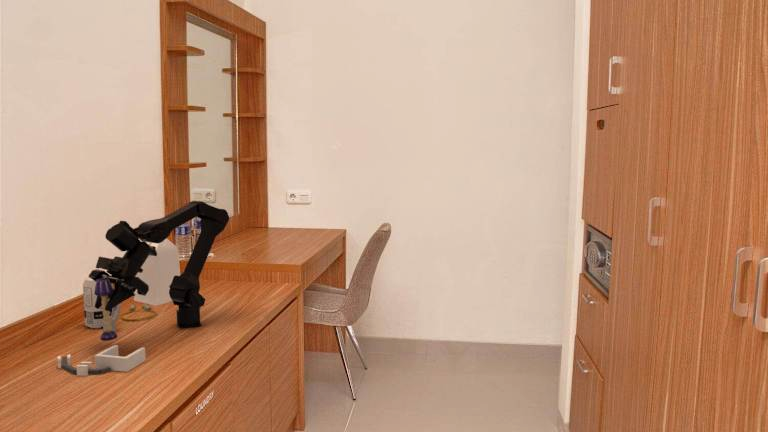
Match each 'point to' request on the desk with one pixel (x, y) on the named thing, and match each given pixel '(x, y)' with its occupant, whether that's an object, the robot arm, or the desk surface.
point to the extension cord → (139, 311)
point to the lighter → (113, 318)
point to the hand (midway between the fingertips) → (101, 309)
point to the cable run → (90, 371)
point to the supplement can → (92, 305)
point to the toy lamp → (103, 290)
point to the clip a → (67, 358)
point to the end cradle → (119, 359)
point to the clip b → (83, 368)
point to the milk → (159, 273)
